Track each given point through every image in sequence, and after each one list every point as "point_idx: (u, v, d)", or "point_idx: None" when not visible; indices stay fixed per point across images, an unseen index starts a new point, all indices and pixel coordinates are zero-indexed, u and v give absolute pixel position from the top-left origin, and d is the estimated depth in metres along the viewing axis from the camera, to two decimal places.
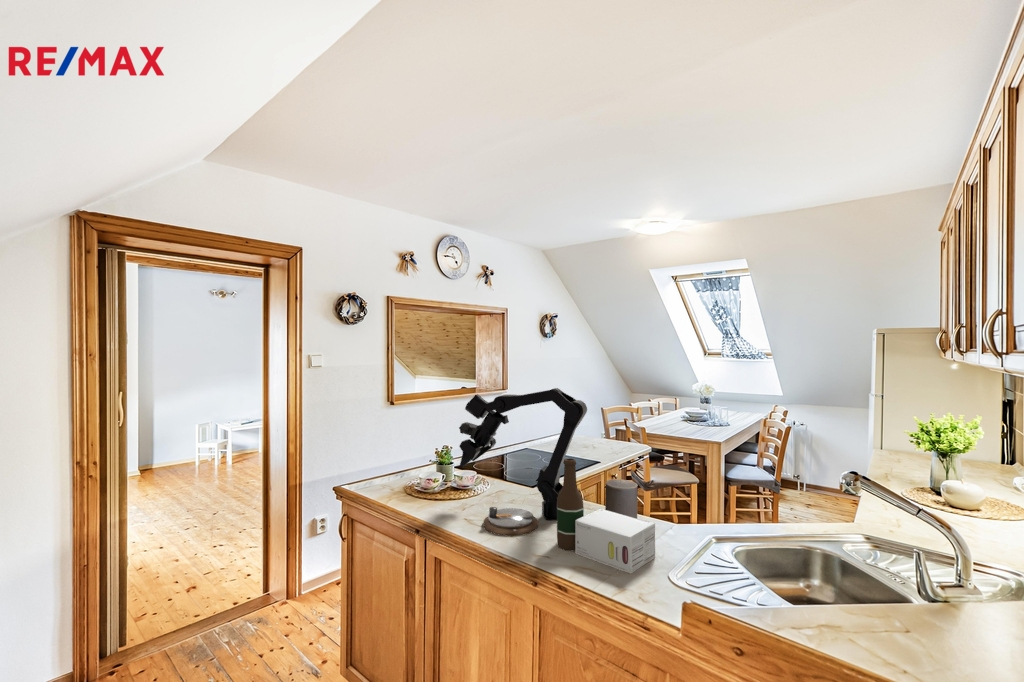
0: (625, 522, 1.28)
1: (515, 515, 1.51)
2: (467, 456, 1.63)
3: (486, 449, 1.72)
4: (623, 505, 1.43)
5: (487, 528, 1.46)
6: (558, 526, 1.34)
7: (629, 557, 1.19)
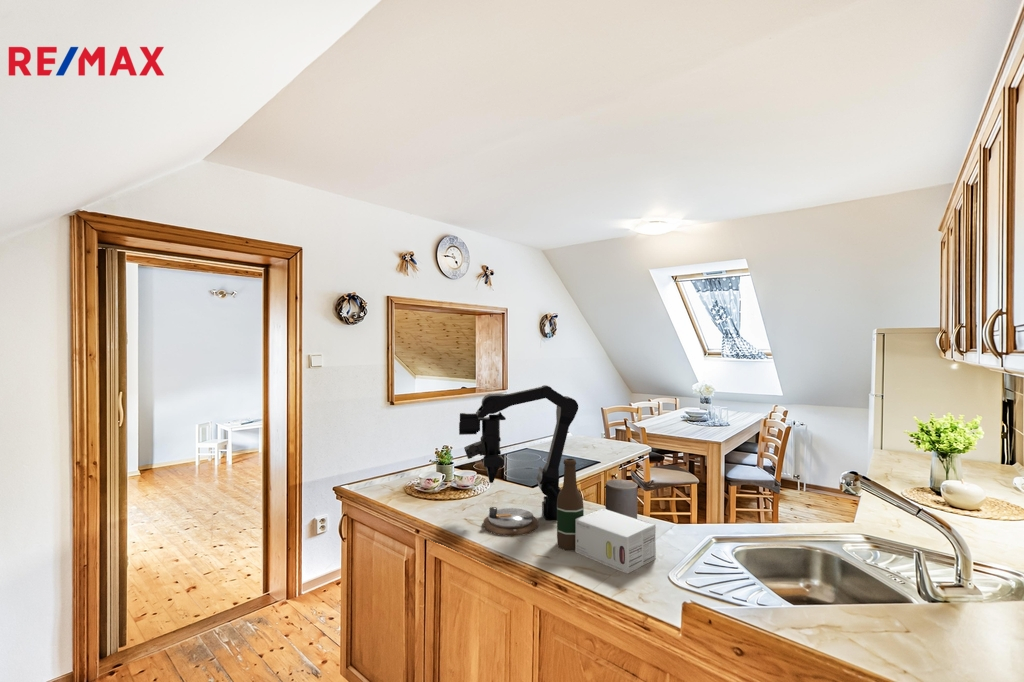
0: (625, 522, 1.28)
1: (515, 515, 1.51)
2: (492, 468, 1.55)
3: None
4: (623, 505, 1.43)
5: (487, 528, 1.46)
6: (558, 526, 1.34)
7: (626, 557, 1.19)
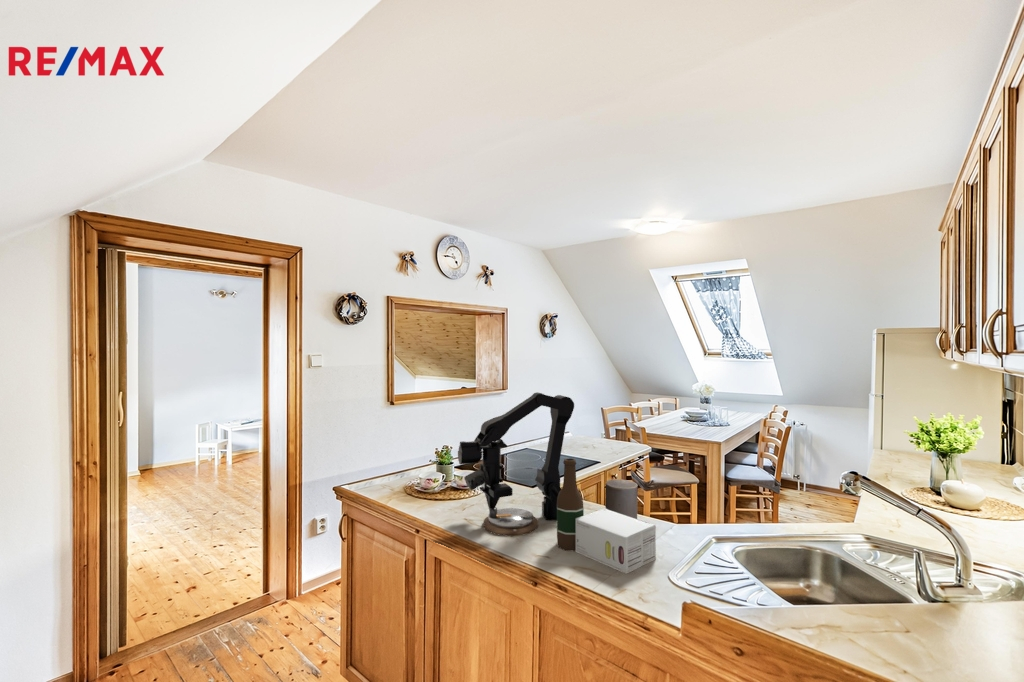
0: (625, 523, 1.28)
1: (515, 515, 1.51)
2: None
3: None
4: (623, 505, 1.43)
5: (487, 528, 1.46)
6: (558, 526, 1.34)
7: (625, 557, 1.19)
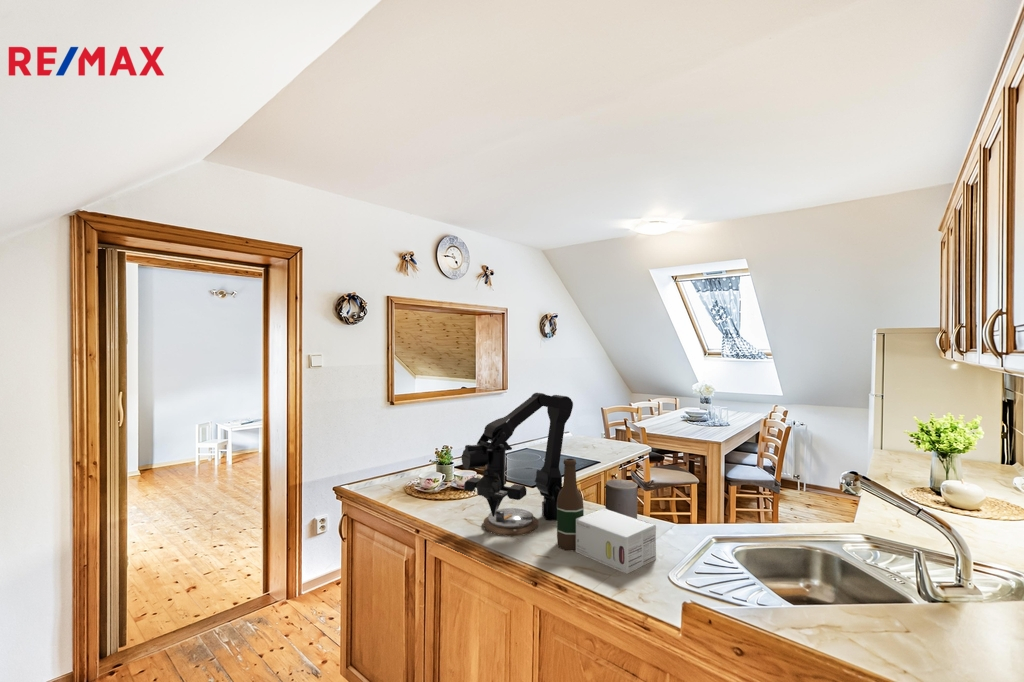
0: (625, 523, 1.28)
1: (513, 514, 1.52)
2: (498, 500, 1.47)
3: None
4: (623, 505, 1.43)
5: (487, 528, 1.46)
6: (558, 526, 1.34)
7: (625, 557, 1.19)
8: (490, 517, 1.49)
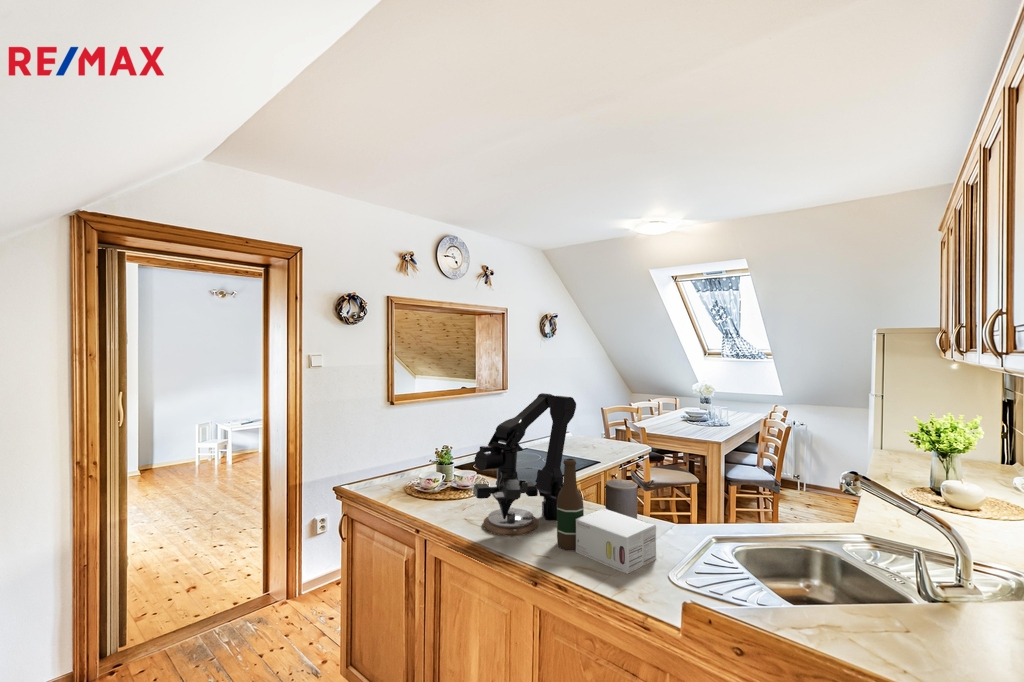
0: (625, 523, 1.28)
1: None
2: None
3: None
4: (623, 505, 1.43)
5: (487, 528, 1.46)
6: (558, 526, 1.34)
7: (626, 557, 1.19)
8: (497, 521, 1.46)
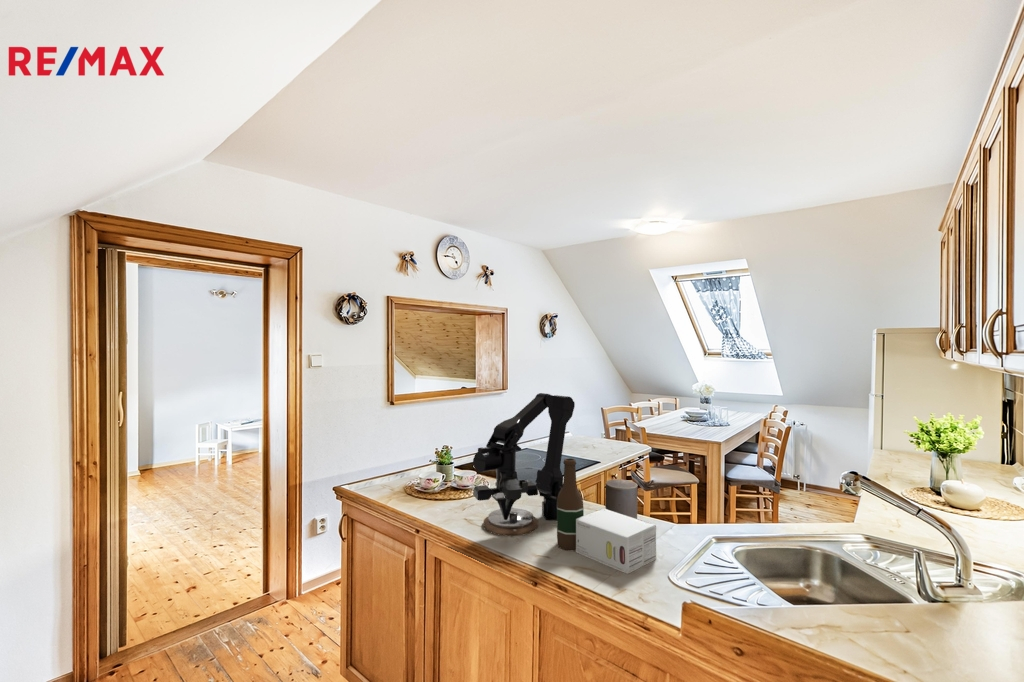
0: (625, 523, 1.28)
1: None
2: None
3: None
4: (623, 505, 1.43)
5: (487, 528, 1.46)
6: (558, 526, 1.34)
7: (626, 557, 1.19)
8: (499, 522, 1.46)
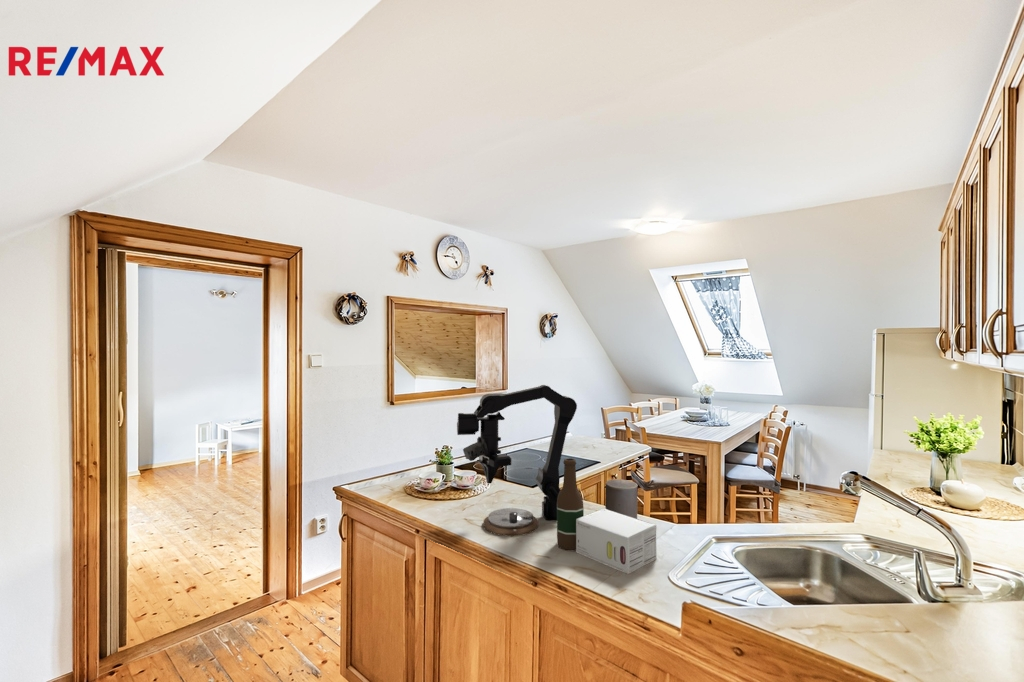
0: (626, 523, 1.28)
1: None
2: (492, 468, 1.54)
3: None
4: (623, 505, 1.43)
5: (487, 528, 1.46)
6: (558, 526, 1.34)
7: (627, 557, 1.19)
8: (499, 522, 1.46)
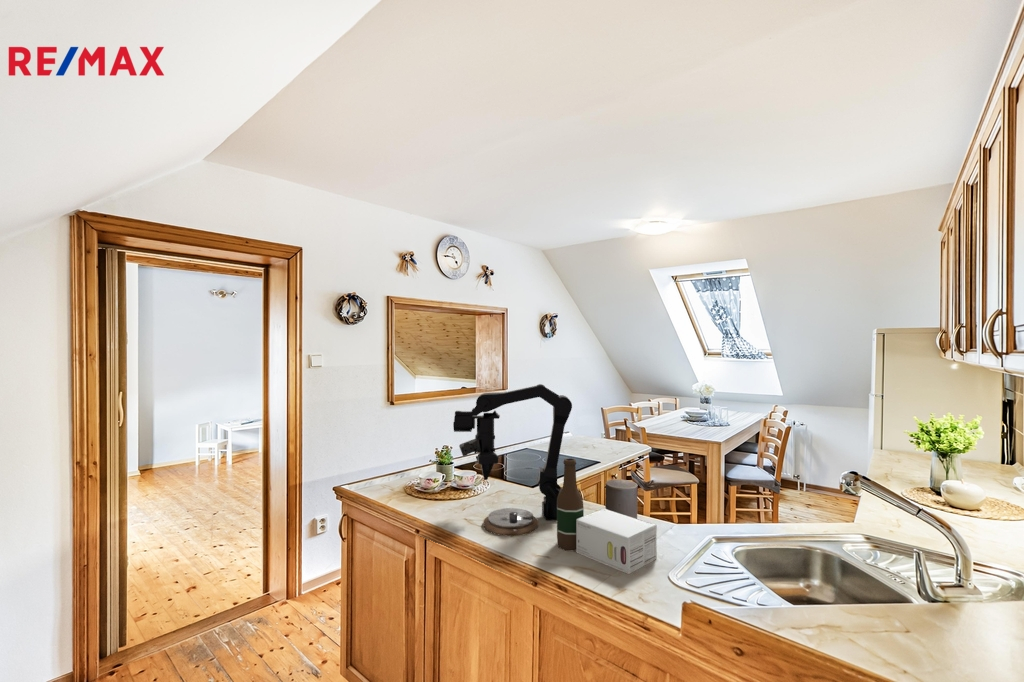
0: (626, 523, 1.28)
1: None
2: (487, 465, 1.58)
3: None
4: (623, 505, 1.43)
5: (487, 528, 1.46)
6: (558, 526, 1.34)
7: (627, 557, 1.19)
8: (499, 522, 1.46)
